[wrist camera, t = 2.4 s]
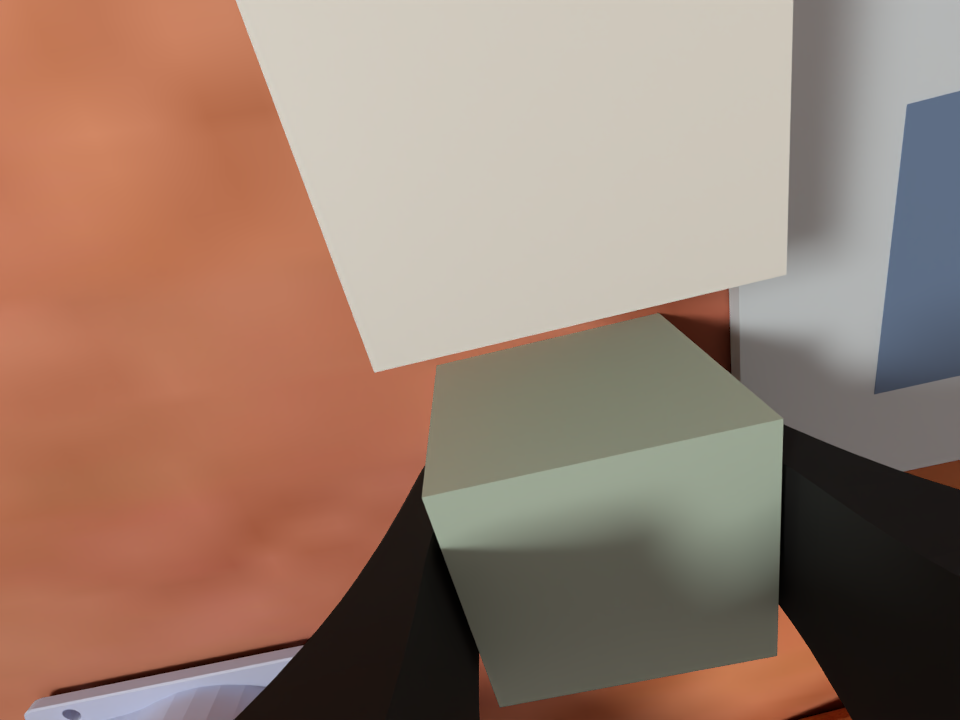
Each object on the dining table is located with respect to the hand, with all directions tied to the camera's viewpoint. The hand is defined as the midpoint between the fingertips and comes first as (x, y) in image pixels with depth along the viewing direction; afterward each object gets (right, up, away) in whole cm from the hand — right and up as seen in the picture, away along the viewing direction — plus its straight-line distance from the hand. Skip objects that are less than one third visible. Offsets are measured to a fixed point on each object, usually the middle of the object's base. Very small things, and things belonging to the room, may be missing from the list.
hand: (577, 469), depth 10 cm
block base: (0, +1, +1) cm, 2 cm away
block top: (-2, +7, -1) cm, 7 cm away
